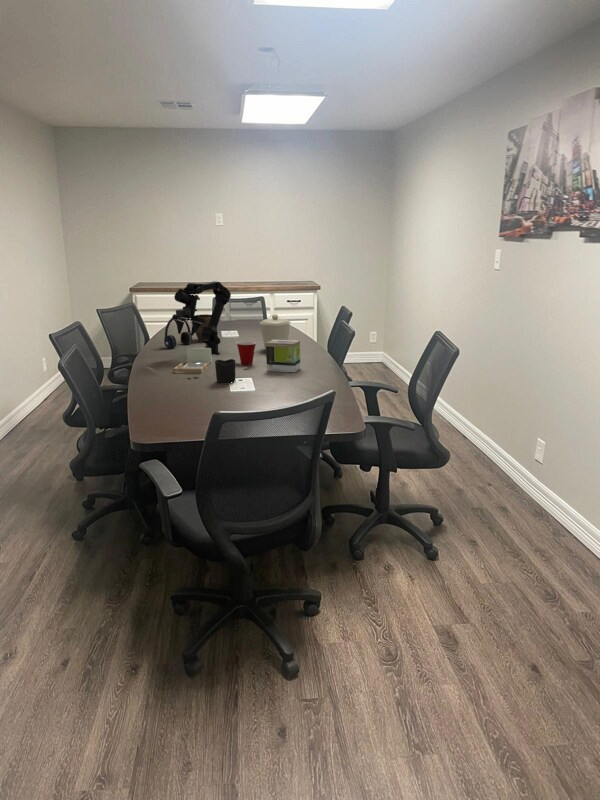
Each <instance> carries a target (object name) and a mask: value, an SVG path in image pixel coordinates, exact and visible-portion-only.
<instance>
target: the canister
mask: <svg viewBox="0 0 600 800" xmlns="http://www.w3.org/2000/svg"><path fill="white" fill-rule="evenodd" d="M291 323H292V322H291V321H290V320H288V319H286V318H280V317H279V315H278V314H272V315H271V318H266V319H262V320H261V321H260V322H259V324H260V328H261V333H262V334H261V335H262V341H263V346H264V347H263V348H264V349H265V350H266V343H267V342H269V341H271V340H289V335H290V325H291Z"/></svg>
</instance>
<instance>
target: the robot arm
mask: <svg viewBox="0 0 600 800" xmlns="http://www.w3.org/2000/svg"><path fill="white" fill-rule="evenodd" d="M210 290H212V293H213V295H214V299H215V304H214V308H213V310H212V313H211V315H212V316H211V319H210V321H209V324H208V326H207V327H203V331H202V332H201V333H202V335H201V337H202V340H203V342H202V343H203V344H205V346H204V348H211V356H213V355H220V354H221V353H220V352H219V345H220V344H221V338H219V336H218V329H217V328H218V324H219V322H220V319H221V316H222V313H223V310H224V307H225V305H226V304H227V303H229V301H230V299H231V295H232V294H231V292H230V290H229V289H228V288H227V287H226V286H224V285H223V284H222V283H221V282H220V281H217V280H216V281H210V282H204V283H195V282H188V283H187V284H186V285H185V287H184V289H183V288H179V289H178V290H177V291H176V292H175V294H174V300H175V301H176V302H179V303H180V304H184V306H182V308H181V309H176V310H175V314H172V316H171V318H172V319H173V322H175V323H176V328H177V334H178V335H181V334H182V331H183V327H184V324H185V322H184V320H186V321H187V322H190V323H191V330H190V332H191V335H192V337H193V336H194V335H195V334H196V333H195V332H196V330H197V329H198V328H199V327H200V326H201V325H202V324H204V322H205V320H204V318H201V317H199V316H194V315H196V312H198V309H197V303H198V302H197V301H200V300H201V298H200V297H199V295H200V294H201V293H204V292H205V291H210ZM192 321H194V322H192ZM201 323H202V324H201Z"/></svg>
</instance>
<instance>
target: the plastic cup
mask: <svg viewBox="0 0 600 800" xmlns="http://www.w3.org/2000/svg"><path fill="white" fill-rule="evenodd" d="M235 344H236V346H237V350H238V355H239V359H240V363H241V366H251V364H252V365H253V361H254V357H255V356H254V355H255V348H256V346H257V342H255V341H246V340H245V341H244V340H243V341H242V340H241V341H236V342H235Z"/></svg>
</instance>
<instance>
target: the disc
mask: <svg viewBox="0 0 600 800" xmlns="http://www.w3.org/2000/svg"><path fill="white" fill-rule="evenodd" d="M203 365H204V362H202V361H192V362H189V363H188V367H202V366H203Z"/></svg>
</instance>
